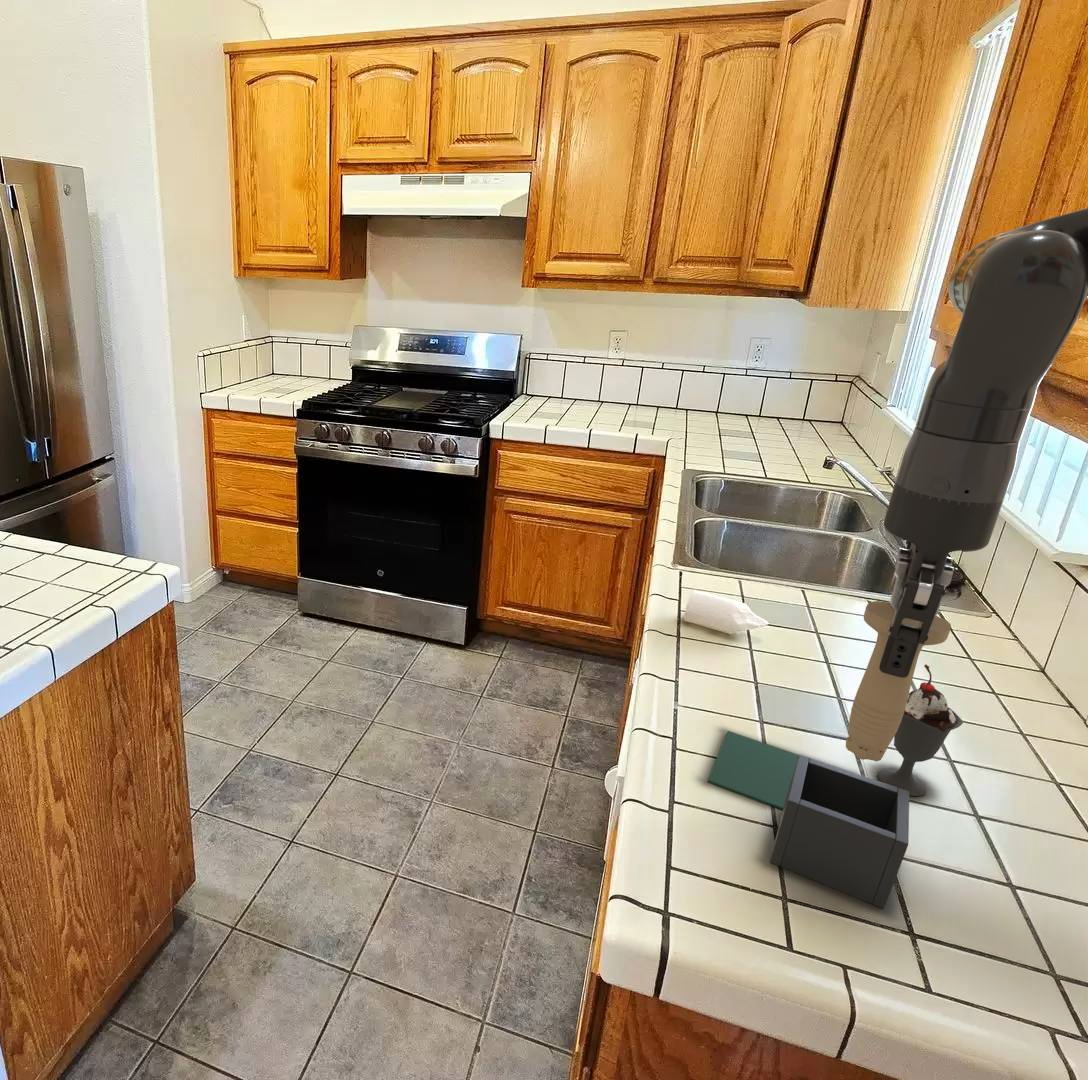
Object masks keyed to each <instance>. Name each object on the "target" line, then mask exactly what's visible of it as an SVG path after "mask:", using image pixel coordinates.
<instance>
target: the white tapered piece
mask: <svg viewBox="0 0 1088 1080" xmlns="http://www.w3.org/2000/svg"><path fill="white" fill-rule="evenodd" d="M683 614H684V615H683V620H684V621H685V622H686V623H691V624H695V625H698V626H701V627H705V628H708V629H711V630H715V631H718V632H720V633H724V634H728V635H733V634H736V633H738V632H746V631H749V630H754V629H758V628H760V627H761V628H762V627H766V626H769V621H767V620H765V618H762V617H761V616H758V615H757V614H755V613H754V612H753V611H752V610H751V608H750V607H749V606H748V605H747V604H746V603H744V602H741V601H737V600H734V599H730V598H727V597H723V596H720V595H717V594H712V593H708V592H703V591H698V590H693V591H692V592H691V594H690V596H689V598H688V601H687V603H686V606H685V609H684V613H683Z"/></svg>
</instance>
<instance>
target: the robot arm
mask: <svg viewBox="0 0 1088 1080" xmlns="http://www.w3.org/2000/svg"><path fill="white" fill-rule="evenodd" d="M947 286H948V287H947V291H948V292H947V293H948V298H949V300H950V302H951V305H952V306H953V308H954V310H956V312H958V313H959V314H960V315H961V316H962V317H961V319H960V323H959V325H958V328H957V331H956V334H955V337H954V339H953V342H952V346H951V348H950V353H949V355H948V356H947V358H946V360H944V361H943V362H941V363H939V365H937V367H936V368H935V369H934V371H933V372H932V375H931V376H930V379H929V381H928V383H927V386H926V389H925V391H924V392H925V393H924V396H923V398H922V403H921V405H920V409H919V412H918V415H917V420H916V423H915V427H914V429H913V431H912V433H911V437H910V439H909V440H908V443H907V445H906V446H905V449H904V452H903V454H902V458H901V462H900V465H899V468H898V471H897V476H896V479H895V482H894V485H893V489H892V491H891V494H890V495H891V496H890V500H889V503H888V506H887V509H886V513H885V516H884V519H883V528H884V529H885V531H886V532H887V533H889V534H890V535H891V536H893V537H894V538H897V539H899V540H902V541H905V545H906V546H905V548H902V547H900V548H899V549H898V553H897V555H896V560H895V565H894V567H895V570H894V574H893V576H892V580H891V585H890V590H891V592H892V593H891V596H890V600H889V603H890V606H891V607H892V608H893V609H894V614H893V618H892V621H891V625H889V626H888V629H887V631H889V633H888V639H887V642H886V645H885V648H884V651H883V655H882V658H881V661H880V665H879V669H880V671H881V672H883V673H886V674H889V675H893V676H897V677H901V678H905V677H907V676H908V675H909V672H910V669H911V666H912V663H913V660H914V657H915V654H916V651H917V648H918V645H919V643H920V644H924V643H925V641H927V639H928V632H929V630H930V627H931V624H932V622H933V619H934V617H935V616H938V614H939V611H940V607H941V604H942V600H943V598H944V596H945V594H946V588H947V587H948V586H950V584H951V582H952V578H953V575H954V571H955V567H953V561H954V558H953V557H949V556H948V555H949V554H950V553H954V552H962V553H969V552H971V553H972V552H977V551H980V550H983V549H984V548H986V547H988V545H989V543H990V541H991V538H992V535H993V532H994V531H995V527H996V524H997V521H998V518H999V515H1000V512H1001V509H1002V507H1003V504H1004V501H1005V498H1006V495H1007V493H1008V490H1009V487H1010V483H1011V481H1012V478H1013V476H1014V472H1015V468H1016V464H1017V459H1018V453H1019V452H1018V451H1019V447H1020V444H1021V439H1022V437H1023V434H1024V432H1025V428H1026V425H1027V423H1028V420H1029V417H1030V414H1031V411H1032V409H1033V406H1034V403H1035V399H1036V395H1037V390H1038V388H1039V385H1040V384H1041V382H1042V380H1043V378H1044V376H1045V375H1046V373H1047V372H1048V371H1049V369H1050V368H1051V367H1052V365H1053V363H1054V362H1055V360H1056V358H1057V356H1058V355H1059V353H1060V351H1061V349H1062V348H1063V345H1064V344H1065V342H1066V340H1067V339H1068V337H1069V335H1070V334H1071V332H1072V329H1073V328H1074V326H1075V324H1076V322H1077V321H1078V318H1079V316H1080V314H1081V312H1082V310H1083V307H1084V304H1085V303H1086V300H1087V298H1088V207H1086V208H1082V209H1079V210H1075V211H1071V212H1067V213H1064V214H1060V215H1057V216H1054V217H1049V218H1047V219H1043V220H1039V221H1036V222H1033V223H1030V224H1027V225H1023V226H1020V227H1016V228H1013V229H1010V230H1007V231H1004V232H1002V233H998V234H996V235H993V236H991V237H989V238H987V239H985V240H982V241H981V242H979V243H978V244H976V245H974V246H973V247H972V248H971V249H969V250H968V251H967V252H966V253H965V254H964V255H963V256H962V257H961V258H960V259H959V260H958V261H957V263H956V264H955V266H954V267H953V269H952V272H951V274H950V277H949V279H948V284H947ZM905 618H908V619H912V620H917V621H920V622H919V626H918V628H916V627H912V626H908V625H904V624H901V623H902V620H903V619H905Z"/></svg>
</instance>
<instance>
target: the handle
mask: <svg viewBox="0 0 1088 1080" xmlns="http://www.w3.org/2000/svg"><path fill="white" fill-rule="evenodd" d="M893 614H894V609H893V608H892V607H891V606H890V601H889V602H887V601H882V600H881V601H880V600H873V601H870V602H868V603H867V604H866V606H865V610H864V613H863V621H864V622H865V623H866V625H868V626H869V627H870V628H872V630H874V631H875V632H876V633H877V637H876V642H875V644H874V647H873V650H872V652H871V655H870V658H869V661H868V663H867V666H866V668H865V671H864V673H863V676H862V678H861V681H860V683H859V686H858V688H857V690H856V693H855V695H854V699H853V702H852V707H851V710H850V714H849V721H848V729H847V730H848V736H847V737H846V740H845V748H846V750H847V751H849V752H851V754H854V755H855V757H856V758H857V759H859V760H867V761H873V762H880V761H882V759H883V758H884V756H885V754H886V752H887V750H888V748H889V746H890V745H891V743H892V742H893V741H894V736H895V734H896V732H897V730H898V727H899V725H900V723H901V720H902V717H903V714H904V711H905V708H906V704H907V699H908V695H909V693H910V692H911V687H912V682H913V678H914V674H915V670H916V668H917V664H918V660H919V656H920V653H921V651H922V649H923V647H925V646H934V645H935V646H936V645H940V644H943V643H945V642H946V640H947V639H948V638H949V635H950V633H951V630H952V623H950V622H949V621H948V620H947V619H945V618H943V617H940V616H938V615H936V616H935V617H934V619H933V622H932V624H931V627H930V630H929V632H928V639H927V641H925V643H924V644H920V643H919V645H918V648H917V651H916V654H915V657H914V660H913V663H912V666H911V669H910V672H909V675H908V676H907V677H905V678H901V677H897V676H893V675H889V674H886V673H883V672H881V671H880V669H879V665H880V661H881V658H882V655H883V651H884V648H885V645H886V642H887V639H888V633H889V631H887V629H888V626H889V625H891V621H892V618H893ZM919 622H920V621H917V620H912V619H908V618H905V619H903V620H902V623H901V624H904V625H908V626H912V627H916V628H918V626H919Z"/></svg>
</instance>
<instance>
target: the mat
mask: <svg viewBox="0 0 1088 1080" xmlns="http://www.w3.org/2000/svg"><path fill="white" fill-rule="evenodd" d="M798 756H799V754H798V753H795V752H792V751H789V750H786V749H782V748H780V747H777V746H774V745H772V744H768V743H766V742H762V741H759V740H756V739H753V738H750V737H748V736H744V735H741V734H738V733H736V732H733V731H730V730H727V732H726V733H725V736H724V739H723V741H722V744H721V747H720V748H719V751H718V754H717V757H716V759H715V761H714V764H713V767H712V769H711V772H710V774H709V776H708V779H707V783H710V784H712V785H715V786H717V787H721V788H723V789H726V790H729V791H731V792H733V793H736V794H739V795H741V796H744V797H747V798H749V799H751V800H752V799H753V800H754V801H757V802H760V803H762V804H765V805H768V806H771V807H773V808H776V809H779V810H781V811H783V807H784V804H785V800H786V797H787V794H788V790H789V787H790V783H791V780H792V776H793V773H794V770H795V766H796V763H797V759H798Z"/></svg>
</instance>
